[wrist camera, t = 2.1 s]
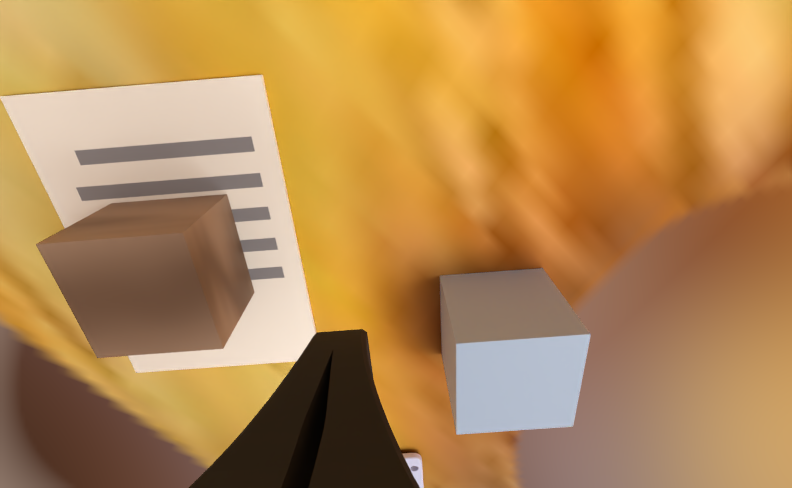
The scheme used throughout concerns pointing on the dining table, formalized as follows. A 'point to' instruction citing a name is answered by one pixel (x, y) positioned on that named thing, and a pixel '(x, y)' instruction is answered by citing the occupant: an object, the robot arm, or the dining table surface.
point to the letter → (181, 187)
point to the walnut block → (153, 275)
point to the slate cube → (510, 351)
